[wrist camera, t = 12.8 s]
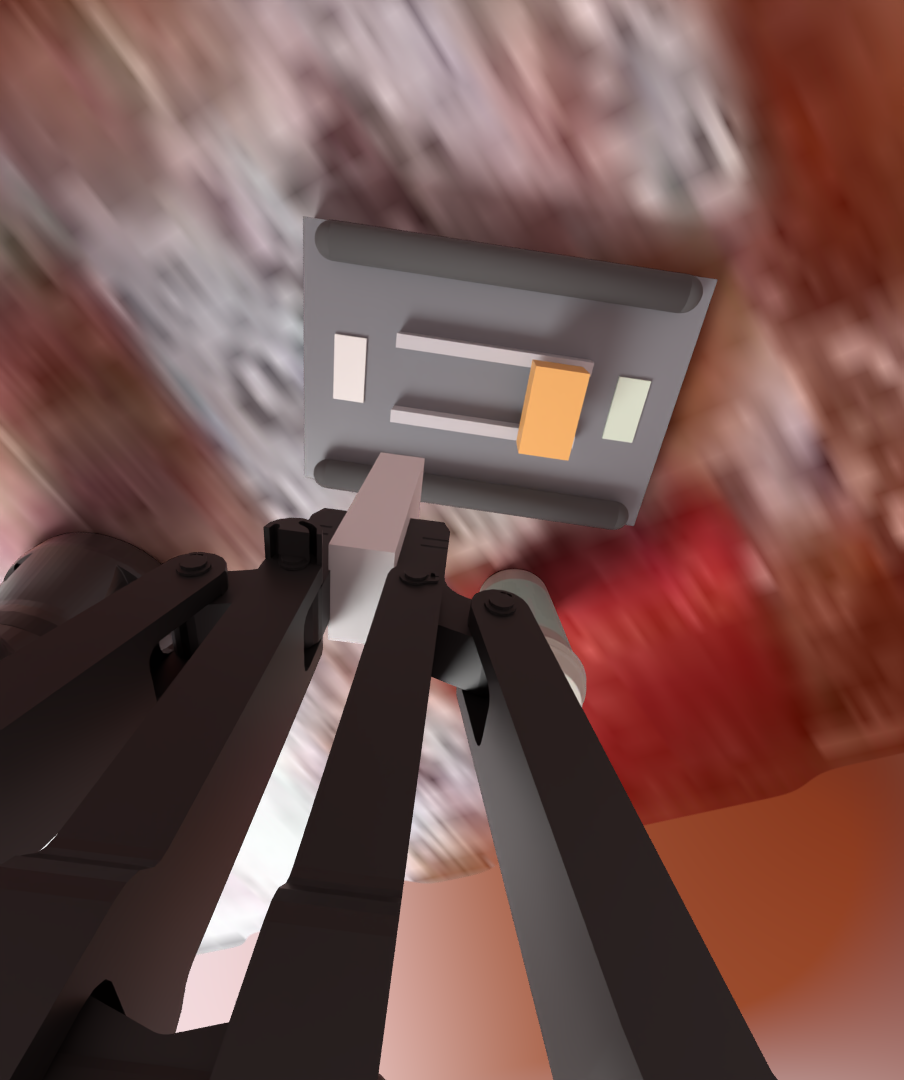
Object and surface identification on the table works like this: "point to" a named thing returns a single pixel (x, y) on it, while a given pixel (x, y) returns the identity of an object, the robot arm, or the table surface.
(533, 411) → the lever
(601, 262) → the pair of grey bars
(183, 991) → the robot arm
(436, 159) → the table surface
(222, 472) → the table surface
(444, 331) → the slide switch panel
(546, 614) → the coffee cup
